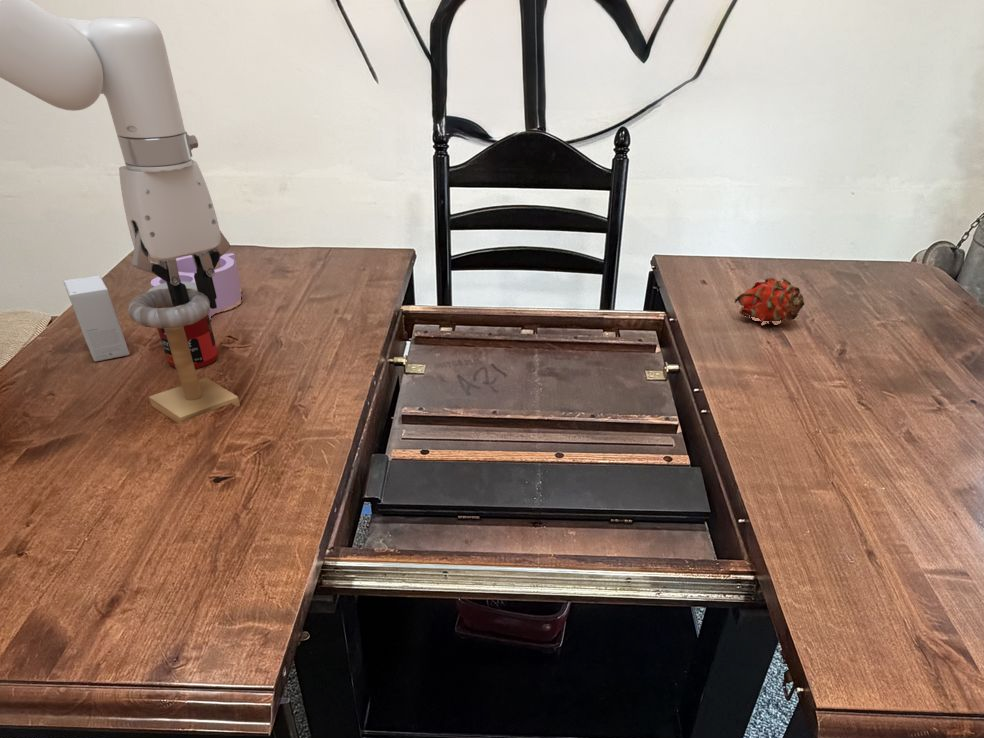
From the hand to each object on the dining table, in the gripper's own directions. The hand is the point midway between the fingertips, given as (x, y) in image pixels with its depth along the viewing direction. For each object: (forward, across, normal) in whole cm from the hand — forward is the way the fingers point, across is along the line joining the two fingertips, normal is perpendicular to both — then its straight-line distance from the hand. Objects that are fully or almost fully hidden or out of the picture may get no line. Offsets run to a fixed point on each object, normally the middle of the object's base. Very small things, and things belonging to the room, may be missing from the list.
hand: (196, 308), depth 96 cm
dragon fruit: (+13, -86, +43) cm, 97 cm away
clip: (+13, -17, -35) cm, 41 cm away
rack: (+13, +4, 0) cm, 14 cm away
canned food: (+13, -4, -15) cm, 20 cm away
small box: (+13, +4, -28) cm, 31 cm away
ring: (-1, +4, 0) cm, 4 cm away
